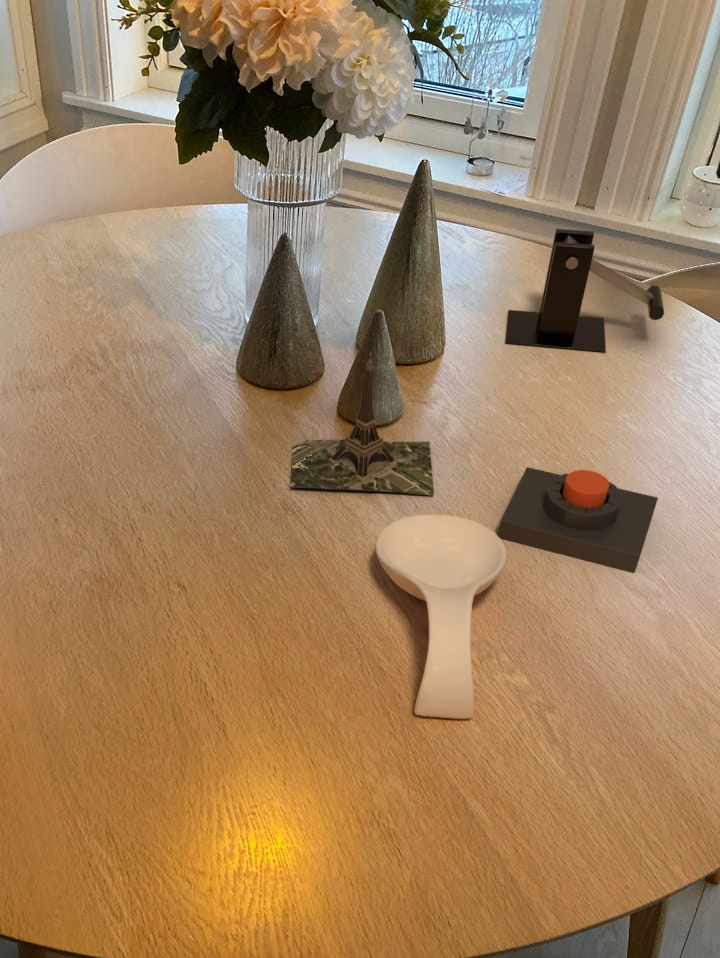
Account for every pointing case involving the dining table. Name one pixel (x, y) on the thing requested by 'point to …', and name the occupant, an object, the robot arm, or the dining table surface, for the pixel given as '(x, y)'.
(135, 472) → the dining table surface
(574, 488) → the button
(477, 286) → the dining table surface
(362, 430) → the eiffel tower figurine
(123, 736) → the dining table surface
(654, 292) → the lever
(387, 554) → the spoon rest
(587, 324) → the bracket
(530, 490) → the button box
